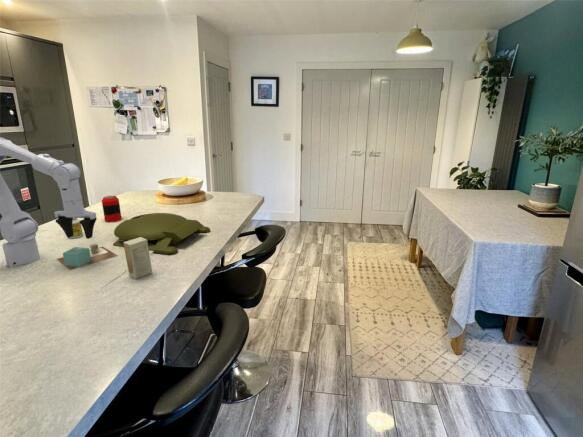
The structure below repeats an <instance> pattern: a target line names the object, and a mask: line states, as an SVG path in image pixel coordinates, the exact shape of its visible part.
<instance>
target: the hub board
mask: <svg viewBox="0 0 583 437" xmlns="http://www.w3.org/2000/svg"><path fill="white" fill-rule="evenodd" d="M89 250H90V255H91V261H90V262H88V263H86V264H84V265H82V266H81V267H73V266H65V261H64V257H63V256H62V257H60V258H56V260H57V261H58V262H59V263H61V265H63V266H64V267H65V268H67V269H68V270H69V271H72V270H73V271H74V270H75V269H79V268H83V267H85V266H89V265H92V264H95V263H100V262H102V261H107V260H110V259H112V258H116V257H119V255H118V254H116V253H114V252H113V251H111V250H109V248H107V247H104V246H98V244H97V243H91V244H89Z"/></svg>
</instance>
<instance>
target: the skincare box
mask: <svg viewBox="0 0 583 437" xmlns="http://www.w3.org/2000/svg"><path fill="white" fill-rule="evenodd" d="M125 241H126V242H123V243H124V247H123V248H124V253H125V254H124V255H125V259H126V260H125V261H126V264H127V271H128V276H129V277H131V278H133V279H134V280H137V279H139V278H142V277H144V276H147V275H149V274H152V273H153V269H152V263H151V257H150V256H151V255H150V251H149V249H148V244H149V242H148V240H147V239H144V238H142V237H139V238H136V239H132V240H125Z"/></svg>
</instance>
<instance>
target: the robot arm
mask: <svg viewBox="0 0 583 437" xmlns="http://www.w3.org/2000/svg"><path fill="white" fill-rule="evenodd" d="M7 157H10V158H13V159H16V160H19V161H22V162H25V163H27V164H30V165H31V166H32V168H33V170H36V171H38V172H39V173H43V174H44V175H48V176H50V177H51V178H52V179H53V181H55V182H56V184H57V187H58V188H59V192H60V196H61V201H62V206H63V210H58V211H57V210H56V211H54V217H55V218H57V219H55V223H56V224H57V225H58V226H59V227H60V228H61V229H62V231H63V233H64V234H65V236H66V238H68V239H69V238H70V237H72V236H73V227H72V220H73V218H77V219H80V221H79V222H80V223H81V227H82V230H83V231H84V235H85V238H86V240H87V239H88V240H89V239H92V238H93V236H94V235H93V233H94V227H95V223H96V221H97V213H96V212H95V211H89V210H86V208H84V203H83V196H82V192H81V186H80V182H79V179H80V177H81V174H82V171H81V169H80V167H79V166H78V165H76V164H74V163H72V162H68V163H65V162H64V161H63V160H62V159H61V160H59V159H56V158H54V157H51V154H48V153H40V154H35V153H34V152H31V151H30V150H27V149H25V148H23V147H21V146H19V145H17V144H15V143H13V142H12V141H11V140H9V139H6V138H4V137H0V164H1V163H2V162H3V161H4V160H5V159H6V158H7ZM0 215H1V219H0V234H1V237H2V238H3V239H4V240H5V241H6V242H4V243H2V244H1V245H2V249H3V254H4V257H5V262H6V265H7V266H8V267H9V268H10V269H11V268H14V267H17V266H21V265H26V264H30V263H33V262H36V261H39V260H40V259H41V256H40V252H39V248H38V243H37V239H36V236H37V232H38V231H39V225H38V222H37V221H36V220H35V219H33V217H32V215H31V214H30V213H29V212H26V211H24V210H21V208H20V206H19V204H18V202H17V201H16V199H15V197H14V195H13V193H12V191H11V190H10V187H9V186H8V185H7V182H6V181H5V179H4V177H3V175H2V174H1V172H0ZM70 239H71V238H70Z"/></svg>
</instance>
